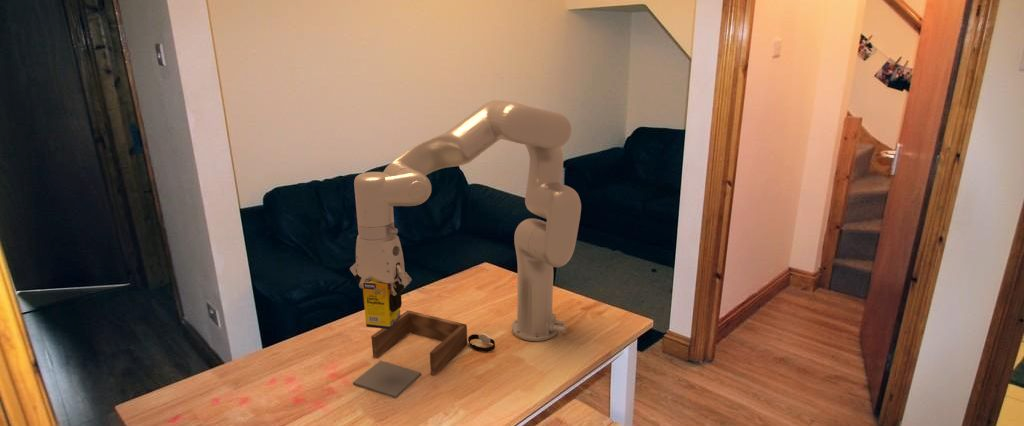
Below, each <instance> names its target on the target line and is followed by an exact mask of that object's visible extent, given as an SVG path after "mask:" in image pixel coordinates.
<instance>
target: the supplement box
mask: <svg viewBox="0 0 1024 426" xmlns="http://www.w3.org/2000/svg"><path fill="white" fill-rule="evenodd" d="M393 284H394V286H395V288H396V285H395V283H393ZM363 294H364V304H363V305H364V315H365V327H366V328H371V329H372V328H375V329H391V328H392V326H393V325H394V324H395V323H396V322H397V320H398V319H399V318H400V315H401V307H400V308H399V309H397V310H396V311H394V312H391V310H390V298H389V296H390V295H391V292H390V289H389V284H387V283H382V282H378V281H373V280H369V279H366V280H365V281H364V282H363Z"/></svg>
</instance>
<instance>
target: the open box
mask: <svg viewBox="0 0 1024 426" xmlns="http://www.w3.org/2000/svg"><path fill="white" fill-rule="evenodd" d="M467 328H468V326H467V324H465V323H461V322H456V321H454V320H449V319H445V318H441V317H436V316H433V315H429V314H425V313H420V312H417V311H412V310H406V311H405V312H403V313H402V314H400V318H399V319H398V320H397V322H396V323H395V324H394V325H393V326H392V328H391V329H382V328H380V329H379V330H378V331H376V332H374V333H373V334H372V335H371V345H372V346H371V348H372V358H374V359H378V358H380V357H381V356H382V355H384V354H385V353H386V352H387V351H389V350H390V349H392V348H393V347H394V346H395V345H397V344H398V343H399V342H400V341H401V340H402V339H404V338H405V337H407V336H408V335H409V334H412V335H417V336H422V337H425V338H428V339H432V340H436V341H440V343H439V344H437V346H435V347H434V348H433V349H432V350H431V351H429V361H430V362H429V365H430V376H431V375H432V376H434V377H436V376H437V375H438V374H439V373H440V372H441V371H442V370H443V369H444V368H445V367H446V366H447V365H448V364H450V362H451V361H452V360H453V359H454V358H456V356H458V355H459V354H460V353H461V352H462V350H463V351H464V349H465V348H466V347H467V346H468V329H467Z"/></svg>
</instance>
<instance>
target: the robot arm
mask: <svg viewBox="0 0 1024 426" xmlns="http://www.w3.org/2000/svg"><path fill="white" fill-rule="evenodd" d="M571 136H572V126H571V123H570V121H569V119H568V117H566V115H564V114H563V113H561V112H556V111H552V110H547V109H542V108H539V107H537V108H536V107H533V106H529V105H525V104H521V103H517V102H511V101H505V100H497V99H495V100H490V101H488V102H486V103H485V104H482V105H481V106H480V107H479V108H477V109H476V110H475V111H473V112H472V113H471V114H469V115H468V116H467V117H465V118H464V119H463V120H461V121H460V122H459V123H457V124H455V125H454V126H452V128H450V129H449V130H447V131H446V132H444V133H442V134H439V135H437V136H435V137H432V138H431V139H429V140H426V141H424V142H421V143H418V144H417V145H415V146H412V148H409V149H408V150H407V151H406V152H404V153H403V154H402V155H401V154H400V156H398V157H397V158H396V159H394V160H392V161H391V163H389V164H388V165H387V166H386V167H385V169H384V170H383V171H368V172H362V173H360V174H358V175H357V176H355V178H354V180H353V181H354V182H353V185H354V195H355V196H354V198H355V209H356V210H355V211H356V219H357V220H356V221H357V222H356V223H357V230H358V231H357V232H358V235H357V237H356V243H355V262H354V263H353V265H352V266H350V268H349V271H350V272H351V273H352V274H353V276H354V279H355V280H356V281H357V283H358V286H359V288H360V289H361V292H362V303H363V305H364V294H363V282H364V281H365V280H366V279H369V280H373V281H378V282H382V283H387V284H389V289H390V292H391V295H390V296H389V298H390V310H391V312H394V311H396V310H397V309H399V308H400V309H401V307H402V304H403V302H402V292H403V291H404V290H405V289H406V288H407V287H408V285H409V284H410V283H411V282H412V281H413V280H412V277H411V276H410V275H409V274H408V272H406V271H405V260H404V253H403V250H402V249H403V248H402V245H401V241H400V237H399V236H398V235H397V234H398V233H399V229H398V228H396V227H395V220H394V219H395V218H394V217H395V216H394V207H412V206H415V207H416V206H418V205H421V204H423V203H425V202H426V201H427V200H428V199H429V197H430V196H431V194H432V184H431V181H430V179H429V178H428V177H427V175H430V174H431V173H433V172H436V171H438V170H441V169H445V168H453V167H459V166H464V165H467V164H470V163H472V161H474V160H475V159H476V158H478V157H479V156H480V155H481V154H482V153H483V152H485V151H487V150H488V149H489V148H490V147H492V146H493V145H495V144H496V143H497V142H498V141H500V140H504V141H508V142H512V143H516V144H521V145H525V147H526V150H527V152H528V155H529V168H528V175H527V182H526V189H525V195H524V196H525V197H524V204H525V207H526V209H527V210H528V211H529V212H530V213H532V214H533V215H536V216H538V217H539V218H543V219H545V220H546V221H545V220H541V219H538V218H527V219H524V220H523V221H521V222H520V223H518V225H517V227H516V228H515V231H514V236H513V237H514V238H513V240H514V242H513V243H514V248H515V254H516V261H517V298H516V299H517V305H516V306H517V307H516V308H517V309H516V310H517V314H516V315H517V317H516V318H517V319H515V320H514V321H513V322H512V324H511V332H512V333H513V335H514V336H516V337H517V338H519V339H520V340H523V341H524V340H525V341H529V342H540V341H541V342H543V341H546V340H547V341H548V340H550V339H552V338H553V337H555V336H556V335H557V334H558V333H561V334H566V331H567V326H566V325H565V324H566V322H564V321H560V320H559V321H558V319H556V314H555V313H553V299H554V297H553V295H554V290H553V289H554V268H560V267H561V268H562V267H563V266H565V265H566V264H568V262H569V261H570V260H571V258H572V256H573V255H574V251H575V249H576V248H575V247H576V243H577V240H578V239H577V238H578V232H579V225H580V221H581V215H582V214H581V213H582V212H581V211H582V202H581V199H580V196H579V193H578V192H577V191H576V190H575V189H574V188H572V187H571V186H568V185H566V184H563V183H562V179H563V169H564V155H563V154H564V153H563V150H562V147H563V146H565V145H566V144H567V143H568V142H569V140H570V138H571ZM400 279H401V280H400ZM393 283H395V285H396V288H395V286H394V284H393Z"/></svg>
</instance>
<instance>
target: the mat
mask: <svg viewBox="0 0 1024 426" xmlns="http://www.w3.org/2000/svg"><path fill="white" fill-rule="evenodd" d="M421 376H422V372H421V371H418V370H414V369H411V368H407V367H405V366H401V365H397V364H394V363H391V362H387V361H384V360H379V361H378V362H377V363H375V364H374V365H373V366H372V367H370V368H369V369H368V370H367V371H365V372H364V373H363V374H361V375H360V376H359V377H358V378H356V379H355V380H354V381H352V385H353V386H356V387H360V388H363V389H366V390H369V391H372V392H375V393H379V394H380V395H384V396H387V397H389V398H392V399H397V398H398V397H399V396H400V395H401V394H402V393H403V392H404V391H406V389H408V388H409V387H411V385H412V384H413V383H414V382H415V381H417V380H418V378H420V377H421Z"/></svg>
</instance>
